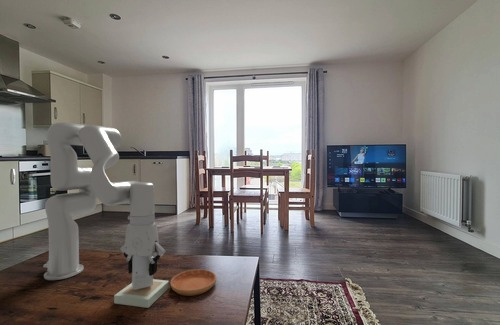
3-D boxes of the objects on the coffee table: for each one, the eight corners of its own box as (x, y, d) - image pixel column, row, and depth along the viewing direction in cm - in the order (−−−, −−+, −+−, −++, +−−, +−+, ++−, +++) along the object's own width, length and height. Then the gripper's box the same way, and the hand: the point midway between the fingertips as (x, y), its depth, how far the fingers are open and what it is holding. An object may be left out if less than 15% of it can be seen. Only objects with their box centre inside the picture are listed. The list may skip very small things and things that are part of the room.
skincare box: (133, 290, 79) (133, 253, 79) (131, 284, 82) (131, 248, 82) (153, 285, 82) (153, 249, 82) (150, 279, 86) (151, 245, 86)
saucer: (161, 289, 87) (161, 280, 87) (196, 272, 99) (196, 265, 99) (190, 305, 77) (190, 295, 77) (225, 284, 90) (225, 276, 90)
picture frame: (114, 303, 77) (114, 295, 77) (138, 284, 89) (138, 277, 89) (148, 307, 75) (148, 299, 75) (169, 287, 87) (169, 280, 87)
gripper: (111, 221, 80) (111, 275, 80) (159, 224, 77) (159, 281, 77) (127, 215, 87) (127, 265, 88) (172, 218, 84) (172, 270, 84)
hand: (142, 272), depth 82 cm, fingers closed on skincare box, 7 cm apart
